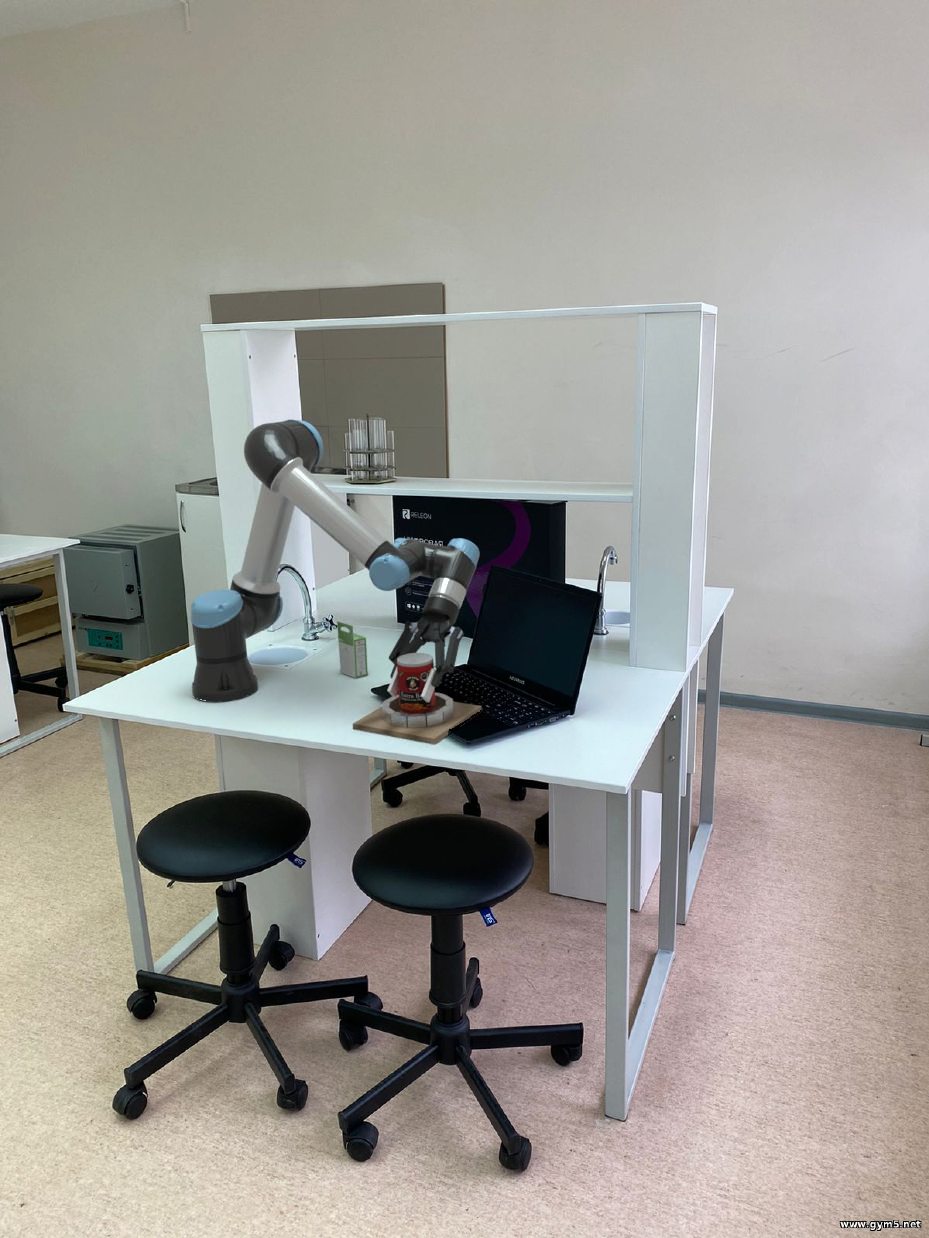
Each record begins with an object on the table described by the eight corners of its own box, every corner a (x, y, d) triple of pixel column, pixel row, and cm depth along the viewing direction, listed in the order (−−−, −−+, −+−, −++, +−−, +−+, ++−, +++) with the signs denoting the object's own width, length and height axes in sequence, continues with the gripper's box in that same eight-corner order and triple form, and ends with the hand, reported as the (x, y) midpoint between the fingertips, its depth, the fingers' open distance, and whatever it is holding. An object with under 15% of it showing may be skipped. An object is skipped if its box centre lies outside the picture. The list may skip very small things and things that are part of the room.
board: (352, 728, 199) (352, 723, 199) (404, 698, 216) (403, 693, 215) (434, 744, 190) (434, 738, 189) (481, 711, 206) (481, 706, 206)
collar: (369, 721, 200) (368, 710, 199) (407, 698, 212) (406, 688, 212) (430, 732, 192) (429, 720, 192) (465, 708, 205) (465, 697, 204)
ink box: (369, 675, 233) (365, 622, 229) (355, 679, 230) (351, 626, 227) (353, 669, 238) (349, 617, 234) (340, 672, 236) (336, 620, 232)
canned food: (396, 713, 199) (393, 663, 196) (403, 700, 206) (401, 652, 203) (432, 714, 198) (429, 664, 195) (438, 700, 205) (436, 652, 202)
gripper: (491, 617, 205) (457, 711, 196) (411, 608, 215) (375, 697, 206) (479, 599, 200) (443, 695, 190) (397, 590, 209) (359, 681, 200)
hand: (408, 696), depth 198 cm, fingers closed on canned food, 8 cm apart
